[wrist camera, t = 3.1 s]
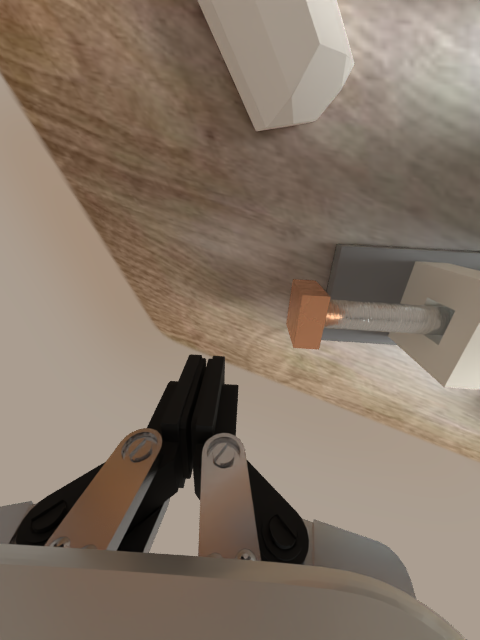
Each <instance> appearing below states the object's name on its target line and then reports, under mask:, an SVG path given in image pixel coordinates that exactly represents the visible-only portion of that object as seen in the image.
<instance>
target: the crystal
mask: <svg viewBox="0 0 480 640" xmlns="http://www.w3.org/2000/svg"><path fill="white" fill-rule="evenodd" d="M198 3H199V5H200V7H201V9H202V12H203V14H204V16H205V18H206V21H207V23H208V25H209V27H210V30H211V32H212V34H213V36H214V39H215V41H216V43H217V45H218V47H219V50H220V52H221V54H222V56H223V59H224V61H225V63H226V65H227V68H228V70H229V72H230V74H231V77H232V79H233V81H234V83H235V86H236V88H237V90H238V92H239V94H240V97H241V99H242V101H243V103H244V106H245V108H246V110H247V112H248V115H249V117H250V119H251V121H252V124H253V126H254V128H255V130H256V131H262V130H269V129H276V128H283V127H289V126H295V125H301V124H307V123H311V122H315V121H317V119H318V118H319V117H320V116H321V114H322V113H323V112H324V111H325V109H326V108H327V107H328V106H329V104H330V103H331V102H332V101H333V100H334V98H335V97H336V96H337V95H338V93H339V92H340V91H341V89H342V87H343V86H344V84H345V82H346V80H347V78H348V76H349V74H350V72H351V70H352V68H353V66H354V64H355V63H354V60H353V56H352V53H351V49H350V46H349V42H348V38H347V35H346V31H345V28H344V24H343V21H342V17H341V14H340V10H339V7H338V3H337V0H198ZM312 57H313V58H312ZM305 70H306V71H305ZM298 83H299V84H298ZM297 85H298V86H297ZM292 94H293V95H292ZM291 96H292V97H291ZM287 101H288V102H287ZM280 110H281V111H280Z"/></svg>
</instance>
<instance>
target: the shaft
mask: <svg viewBox="0 0 480 640" xmlns="http://www.w3.org/2000/svg"><path fill="white" fill-rule="evenodd" d="M330 298H331V297H330V296H329V294H328V293H327V292H326V291H325V290H324V289H323V288H322V287H321V286H320V285H319V284H318V283H317V282H316V281H314V280H297V279H293V282H292V289H291V295H290V302H289V309H288V316H287V323H286V324H287V328H288V331H289V334H290V338H291V341H292V344H293V348H306V349H319V346H320V342H321V338H322V333H323V329H324V328H335V329H350V330H365V331H381V332H396V333H411V334H427V335H442V336H443V335H444V333H445V331H446V329H447V327H448V325H449V323H450V321H451V319H452V317H453V314H454V312H455V310H453V309H451V308H449V307H444V306H428V305H411V304H395V303H379V302H362V301H346V300H330Z"/></svg>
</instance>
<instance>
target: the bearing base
mask: <svg viewBox="0 0 480 640" xmlns="http://www.w3.org/2000/svg"><path fill="white" fill-rule="evenodd" d="M327 293H328V294H329V296H330V297H331V298H330V300H346V301H362V302H379V303H395V304H411V305H428V306H444V307H449V308H451V309H453V310H455V312H454V314H453V317H452V319H451V321H450V323H449V325H448V327H447V329H446V331H445V333H444V335H443V336H442V335H427V334H411V333H396V332H381V331H365V330H350V329H335V328H324V329H323V333H322V338H321V340H330V341H345V342H360V343H375V344H390V345H398V346H399V347H400V348H402V349H403V350H404V351H405V352H406V353H407V354H408V355H409V356H410V357H411V358H413V359H414V360H415V361H416V362H417V363H418V364H419V365H420V366H421V367H422V368H424V369H425V370H426V371H427V372H428V373H429V374H430V375H431V376H432V377H434V378H435V379H436V380H437V381H438V382H439V383H440V384H441V385H442V386H443V387H449V388H463V389H477V390H480V252H474V251H455V250H437V249H418V248H400V247H381V246H363V245H344V244H337V246H336V250H335V255H334V260H333V264H332V269H331V274H330V278H329V283H328V287H327Z"/></svg>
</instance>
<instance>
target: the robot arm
mask: <svg viewBox="0 0 480 640" xmlns="http://www.w3.org/2000/svg"><path fill="white" fill-rule="evenodd" d="M224 370H225V357H224V356H213V359H209V360H208V363H207V367H206V359H205V358H202V355H189V357H188V360H187V362H186V365H185V367H184V369H183V372H182V374H181V376H180V379H179V381H178V382H177V381H176V382H175V381H170V382H169V383H168V385H167V387H166V389H165V391H164V393H163V396H162V397H161V400H160V402H159V404H158V406H157V408H156V410H155V412H154V414H153V416H152V418H151V421H150V422H149V425H148V427H147V428H144V429H139V430H136V431H134V432H132V433H130V434H129V435H127V436H126V437H125V438H124V439H123V440H122V441H121V442H120V444H119V445H118V446H117V448H116V449H115V451H114V452H113V453H112V454H111V456H110V457H109V459H108V460H107V461H106V462H105V463H103V464H101V465H100V466H98V467H96V468H94V469H93V470H91V471H89V472H88V473H86V474H84V475H83V476H81V477H79V478H78V479H76V480H74V481H72V482H71V483H69V484H67V485H66V486H64V487H62V488H61V489H59V490H57V491H56V492H54V493H52V494H51V495H49V496H47V497H46V498H44V499H43V500H41V501H40V502H39V503H37V504H33V503H32V501H29V502H23V503H18V504H13V505H7V506H2V507H0V640H466V639H465V638H464V637H463V636H462V634H460V632H459V631H458V630H456V629H455V628H454V627H453V626H452V625H451V624H450V623H449V622H447V621H446V620H445V619H444V618H443V617H441V616H440V615H439V614H437V613H436V612H435V611H433V610H432V609H430V608H429V607H428V606H427V605H425V604H423V603H422V602H420V601H419V600H417V599H416V597H415V593H414V590H413V586H412V582H411V579H410V577H409V574H408V572H407V570H406V567H405V566H404V564H403V563H402V561H401V560H400V559H399V557H398V556H397V555H396V554H395V553H394V552H393V551H392V550H391V549H390V548H389V547H387V546H386V545H384V544H382V543H380V542H378V541H375V540H373V539H370V538H367V537H363V536H360V535H358V534H355V533H352V532H349V531H346V530H343V529H341V528H338V527H335V526H332V525H329V524H326V523H323V522H320V521H317V520H314V521H313V522H310V521H308V520H305V519H302V518H301V517H300V516H299V514H298V513H297V512H296V511H295V510H294V509H293V508H292V507H291V506H290V505H289V503H288V502H287V501H286V500H285V499H284V498H283V497H282V496H281V495H280V494H279V493H278V492H277V491H276V490H275V489H274V488H273V487H272V486H271V485H270V484H269V483H268V482H267V480H266V479H265V478H264V477H262V475H261V474H260V473H259V472H258V471H257V470H256V469H255V468H254V467H253V466H252V465H251V464H250V463H249V462H248V461H247V460H246V454H245V449H244V445H243V443H242V442H241V440H240V439H239V438H237V437H236V417H237V402H238V385H229V384H227V385H226V384H224V373H225V371H224ZM192 469H193V472H194V473H193V474H194V484H195V485H194V486H195V494H196V495H197V497H198V498H199V500H200V522H199V549H198V556H184V555H169V554H155V553H149V551H150V549H151V546H152V544H153V541H154V539H155V536H156V534H157V532H158V529H159V527H160V524H161V522H162V519H163V517H164V514H165V512H166V510H167V507H168V504H169V501H170V497H171V496H173V495H174V494H175V493H176V492H178V488H183V487H184V483H185V479H186V478H187V479H190V477H191V474H192Z"/></svg>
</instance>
